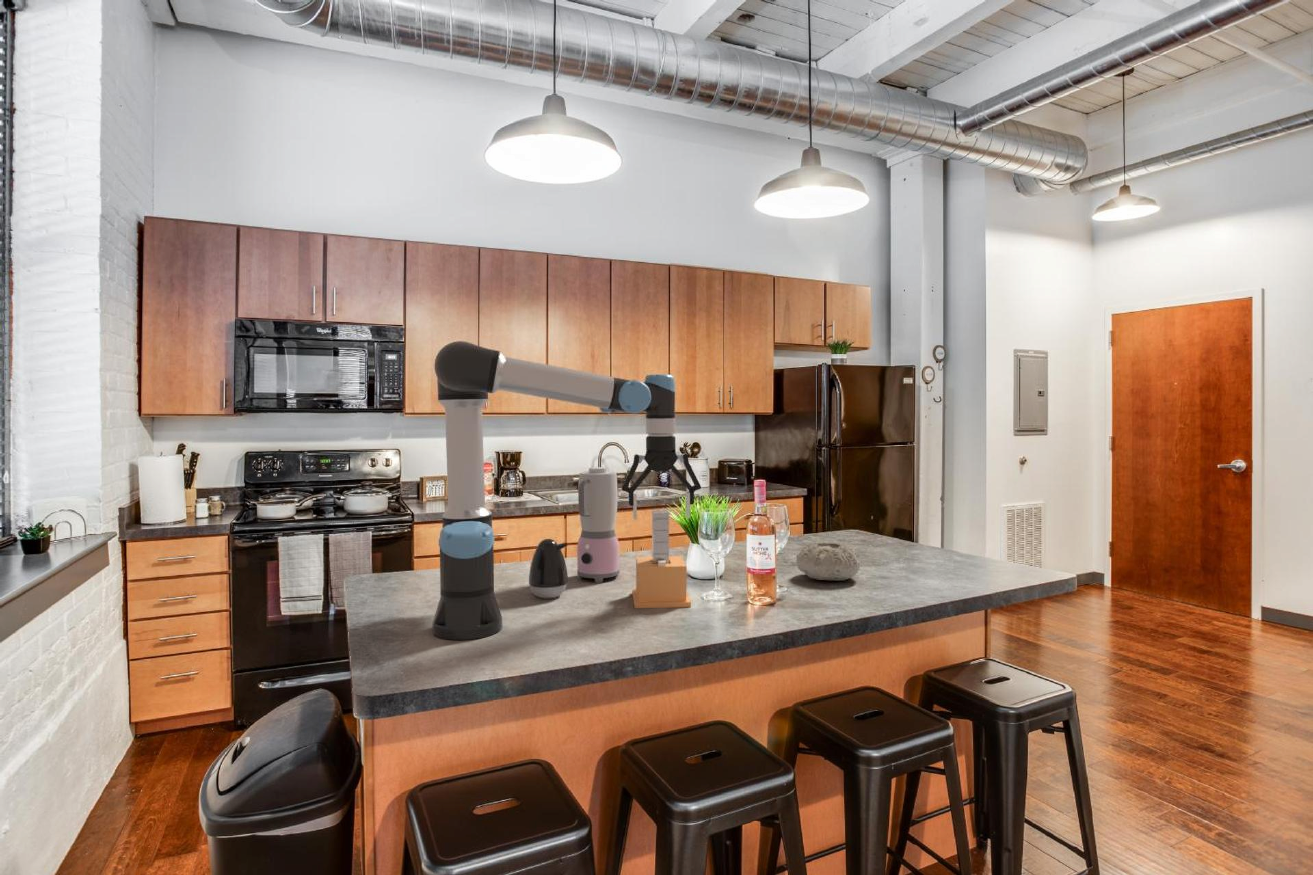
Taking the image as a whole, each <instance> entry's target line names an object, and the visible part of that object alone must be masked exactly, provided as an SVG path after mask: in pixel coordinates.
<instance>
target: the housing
mask: <svg viewBox="0 0 1313 875" xmlns="http://www.w3.org/2000/svg"><path fill="white" fill-rule="evenodd" d="M635 578H636V579H635V581H636V582H635V584H636V585H635V588H632V590H631V591H632V592H631V595H632V601H633V605H634V609H654V608H655V609H657V608H658V609H659V608H662V609H663V608H691V607H692V602H691V600H690V597H689V595H688V593H687V565H686V563H685V561H684V559H683V557H682V556H681V555H674V556H671V555H669V564H666V561H665V560H658V564H652V556H636V558H635Z"/></svg>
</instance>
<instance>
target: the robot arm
mask: <svg viewBox="0 0 1313 875" xmlns="http://www.w3.org/2000/svg"><path fill="white" fill-rule="evenodd" d="M433 367H434V372H435V375H436V380H437V381H436V384H437V402H438V403H439V404H440V405H441V406H442V407H443V408H444V415H445V417H444V421H445V422H444V423H445V447H446V451H445V452H446V474H447V475H446V478H447V506H448V507H447V510H445V511H444V512H443V514H442V515H441V520H442V521H441V522H442V523H441V524H442V527H441V530H440V533H439V538H438V547H439V584H440V589H439V590H440V591H439V592H440V594H439V595H440V596H439V601H438V605H437V607H436V611H435V613H434V617H433V619H432V634H433V635H434V636H435V637H437V638H441V639H444V640H457V641H458V640H459V641H461V640H462V641H463V640H465V641H466V640H473V639H481V638H485V637H488V636H491V635H494V634H497V633H498V632H500V631H501V630H502V629H503V616H502V613H501V610H500V607H499V605H498V601H497V597H496V596H495V570H494V569H495V568H494V567H495V564H494V562H495V560H494V558H495V557H494V554H495V553H494V551H495V549H494V544H495V536H494V530H493V518H492V517H493V513H492V511H491V510H490V509H488V508H487V506H486V492H485V490H486V489H485V464H484V463H485V462H484V434H483V433H484V431H483V430H484V429H483V428H484V427H483V407H484V405H485V404H486V403H487V402H489V394H495V393H497V392H499V391H502V392H509V393H515V394H518V395H519V394H520V395H526V396H531V397H537V398H538V397H539V398H544V399H549V400H555V401H560V402H567V403H570V404H571V403H572V404H579V405H583V406H590V407H594V408H599V410H600V412H602V413H611V414H615V413H616V414H617V413H618V414H619V413H620V414H621V413H623V414H632V415H637V414H640V413H645V433H646V434H647V436H646V437H645V455H641V454H637V453H635V454H634V455H633V463H632V465H631V466H630V469H629V471H628V473H627V474H626V477H625V479H624V482H623V483H622V486H621V490H622V491H623V492H625V493H628V505H629V506H630V507H632V510H633V512H632V514H633V520H638V519H637V518H638V514H637V513H638V511H637V510H638V509H637V508H638V506H637V502H638V500H637V492H635V491H636V490H637V489H638V487H639V486H640V485H641V484H642V483H643V481H644V480H645V479H646V478H647V477H648V475H649V474H650V473H651V472H652V471H653V472H655V473H659V472H663V473H666V472H670V471H671V472H673V474H674V475H675V476H676V477H677V478H678V480H679V481H680V482H681V484H683V485H684V487H686V488H687V490H688V491H687V490H686V491H685V518H687V519H690V518H691V505H695V492H696V491H698V490H701V489H702V486H701V484H700V481H699V480H698V478H697V475H696V474H695V472H694V470H693V468H692V465H691V464H690V462H689V455H688V454H687V453H682V454H677V451H676V450H677V449H676V448H677V447H676V436H675V435H674V434H676V386H675V377H674V376H673V375H671V374H665V373H664V374H663V373H661V374H647V375H646V376H645V378H644V381H643V382H642V381H640V380H636V379H630V380H629V379H625V378H620V377H614V376H609V375H604V374H598V373H593V372H589V371H582V370H577V369H573V368H567V367H561V366H556V365H551V364H544V363H540V362H535V361H529V360H523V359H519V358H513V357H508V356H505V355H504V354H503V352H502V351H500V350H495V349H491V348H487V347H483V346H480V345H477V344H474V343H472V342H469V341H464V340H463V341H462V340H459V341H458V340H457V341H453V342H449V343H448V344H446V345H445V346H443V347H442V348H440V350H439V351H438V353H437V355H436V357H435V360H434V366H433ZM678 460H679V461H680V463H682V464H683V465H684V467H685V469H686V471H687V474H688V475H689V477H690V479H691V482H692V483H693V485H691V483H690V482H689V481H688V480H687V479H686V478H685V476H683V474H682V473H681V471H680V470H678V469H677V467H676V466H675V464H676V462H677V461H678ZM643 461H645V463H646V464H647V465H646V467H645V468H644V470H643V471H642V472H641V473H640V474H639V476H638V477H636V480H635V481H634V482H633V483H632V485H631V486H630V483H631V481H632V480H633V476H634V475H635V473H636V471H637V468H638V467H639V464H641V463H642V462H643ZM629 486H630V487H629Z"/></svg>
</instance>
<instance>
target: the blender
mask: <svg viewBox="0 0 1313 875" xmlns="http://www.w3.org/2000/svg"><path fill="white" fill-rule="evenodd" d="M577 488H578V489H577V490H578V492H577V494H578V495H577V496H578V498H577V499H578V501H577V503H578V513H579V519H580V520H579V521H580V524H581V526H580V527H581V533H580V536H579V538H578V541H577V545H576V547H577V548H576V556H577V557H576V559H577V563H576V565H577V570H576V571H577V579H578V580H582V578H587V579H594V582H595V583H597V582H599V583H603V581H604V579H606V578H613V577H618V576H619V574H620V544H619V539H618V537H617V535H616V532H615V527H616V521H617V520H616V519H617V513H618V475H617V472H616V471H611V470H610V471H609V470H608V469H607V467H604V466H603V467H601V466H600V467H599V466H596V467H589V468H588V471H581V472H580V473H579V474H578V486H577Z"/></svg>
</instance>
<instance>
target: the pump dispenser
mask: <svg viewBox="0 0 1313 875" xmlns="http://www.w3.org/2000/svg"><path fill="white" fill-rule="evenodd" d="M568 546H569V545H568V542H562V543H559V544H558V543H557V541H556V540H554V539H552V538H545V539H544V538H543V539H542V540H540V542H539V543H538V544H537V547H536V548H535V551H534V553H533V556H532V559H531V561H530V562H531V563H530V567H529V575H528V584H529V586H530V590H531V592H532V593H533V595H534V596H536V597H538V598H540V599H544V600H545V599H556V598H558V597H560V596H561V595H562V594H564V592H565V591H566V587H567V584H568V582H569V578H568V577H569V575H568V569H567V565H566V564H567V563H566V560H565V558H564V554H563V552H562V549H564V548H566V547H568Z"/></svg>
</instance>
